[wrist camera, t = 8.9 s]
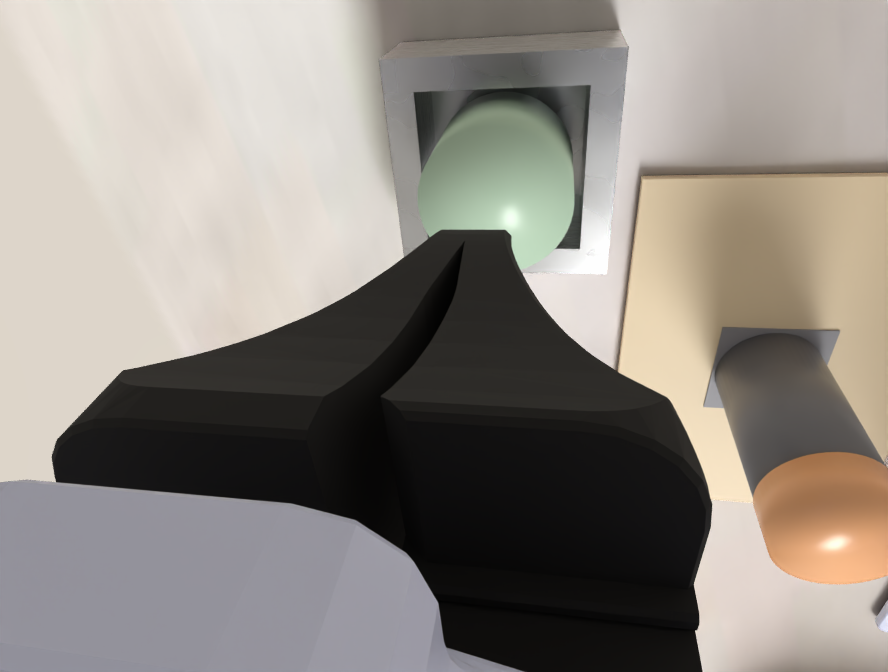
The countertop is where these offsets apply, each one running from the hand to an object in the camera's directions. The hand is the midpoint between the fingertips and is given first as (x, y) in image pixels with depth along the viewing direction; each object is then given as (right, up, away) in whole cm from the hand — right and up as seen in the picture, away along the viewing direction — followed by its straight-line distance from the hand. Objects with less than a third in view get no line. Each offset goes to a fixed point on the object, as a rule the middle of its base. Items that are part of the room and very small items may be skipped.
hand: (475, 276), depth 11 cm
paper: (+11, -2, +9) cm, 15 cm away
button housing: (+1, +5, +7) cm, 8 cm away
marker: (+11, -2, +9) cm, 14 cm away
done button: (+1, +4, +5) cm, 7 cm away
